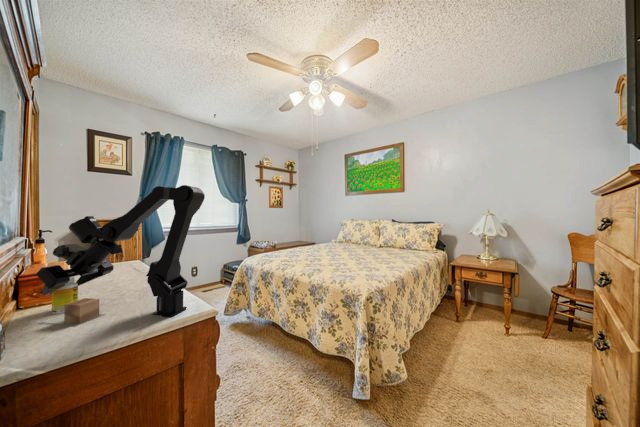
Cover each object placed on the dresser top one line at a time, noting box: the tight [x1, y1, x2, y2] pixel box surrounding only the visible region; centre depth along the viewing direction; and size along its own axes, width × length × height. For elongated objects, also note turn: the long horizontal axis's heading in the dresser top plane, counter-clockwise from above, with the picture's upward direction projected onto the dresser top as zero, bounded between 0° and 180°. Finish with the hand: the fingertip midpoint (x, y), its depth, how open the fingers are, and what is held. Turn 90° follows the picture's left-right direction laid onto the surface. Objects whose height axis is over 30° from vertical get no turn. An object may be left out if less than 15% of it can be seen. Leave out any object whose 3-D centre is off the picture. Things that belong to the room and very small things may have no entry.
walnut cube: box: [63, 297, 100, 325], centre depth 68 cm, size 5×5×5 cm
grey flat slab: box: [37, 313, 107, 328], centre depth 68 cm, size 12×8×1 cm, turn 82°
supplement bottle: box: [51, 276, 79, 315], centre depth 75 cm, size 6×6×10 cm
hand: (61, 289), depth 75 cm, fingers open, 9 cm apart
